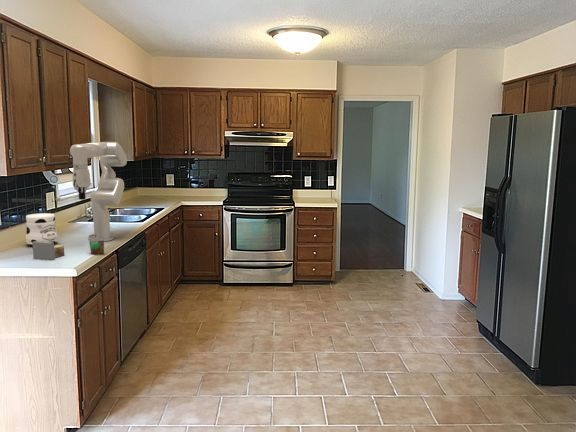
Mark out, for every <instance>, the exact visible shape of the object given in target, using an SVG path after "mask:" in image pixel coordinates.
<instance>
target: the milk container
mask: <svg viewBox="0 0 576 432" xmlns="http://www.w3.org/2000/svg"><path fill="white" fill-rule="evenodd" d="M25 226H26V233H25V242H26V245H28V246H31V247H33V244H32V242H34V241H39V242H51V243H54V244H56V243H57V242H58V238H59V233H58V232H57V231H58V230H57V228H56V216H55V214H54V213H49V212H48V213H47V212H45V213H44V212H43V213H42V212H41V213H31V214H26V216H25Z"/></svg>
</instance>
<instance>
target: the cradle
mask: <svg viewBox="0 0 576 432" xmlns="http://www.w3.org/2000/svg"><path fill="white" fill-rule="evenodd" d="M54 251H55V259H56V258H60V257H62V256H65V247H64V248H60V249H56V250H54Z"/></svg>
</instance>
